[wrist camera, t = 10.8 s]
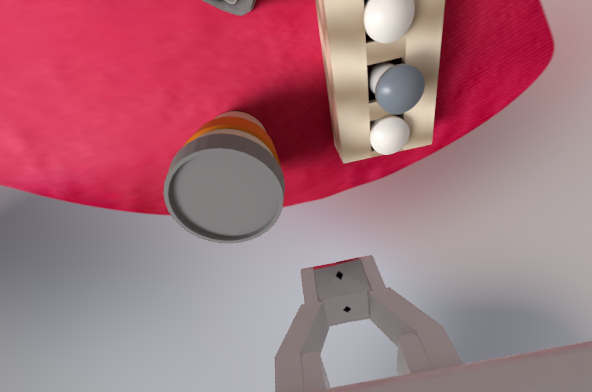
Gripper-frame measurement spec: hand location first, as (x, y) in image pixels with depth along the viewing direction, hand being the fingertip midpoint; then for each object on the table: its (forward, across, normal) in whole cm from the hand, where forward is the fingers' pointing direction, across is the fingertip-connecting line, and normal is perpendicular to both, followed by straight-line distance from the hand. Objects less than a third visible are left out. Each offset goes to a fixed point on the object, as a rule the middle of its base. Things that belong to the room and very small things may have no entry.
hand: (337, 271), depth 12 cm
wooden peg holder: (+31, -11, 0) cm, 33 cm away
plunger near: (+31, -11, -6) cm, 33 cm away
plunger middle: (+28, -11, 0) cm, 30 cm away
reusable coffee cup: (+31, +9, +6) cm, 33 cm away
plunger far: (+31, -11, +7) cm, 33 cm away
